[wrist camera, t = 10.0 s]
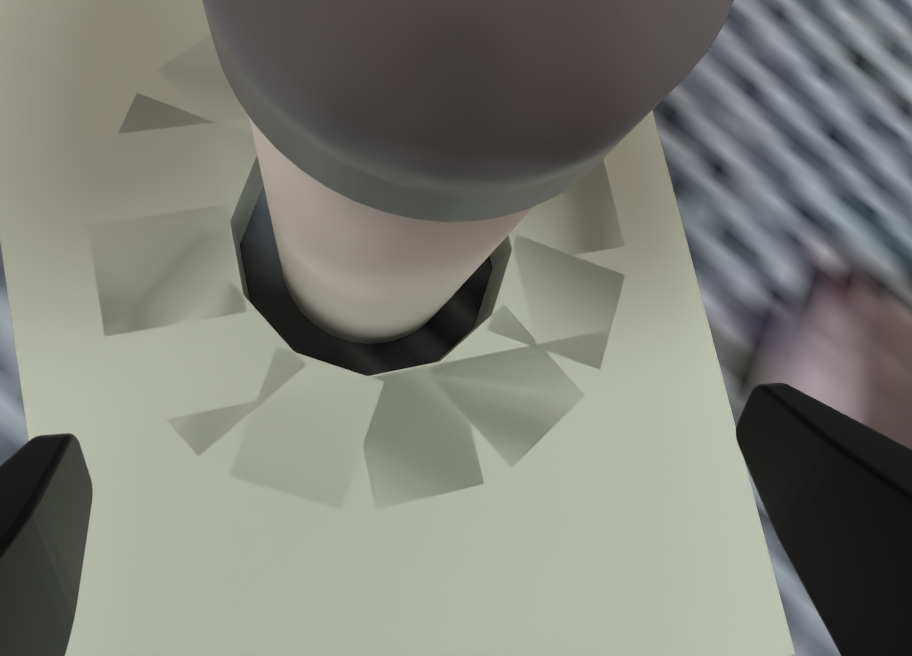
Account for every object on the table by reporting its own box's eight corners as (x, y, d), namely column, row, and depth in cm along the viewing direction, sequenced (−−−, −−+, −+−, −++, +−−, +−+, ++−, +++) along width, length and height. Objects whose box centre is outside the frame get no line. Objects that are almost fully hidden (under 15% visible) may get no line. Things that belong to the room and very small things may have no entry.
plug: (405, 385, 18) (604, 258, 5) (235, 289, 18) (26, -91, 5) (492, 229, 19) (823, -170, 7) (335, 135, 19) (370, -483, 6)
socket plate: (746, 632, 19) (795, 653, 17) (121, 834, 15) (93, 891, 13) (583, -5, 21) (610, -51, 19) (4, 43, 17) (-35, -7, 16)
